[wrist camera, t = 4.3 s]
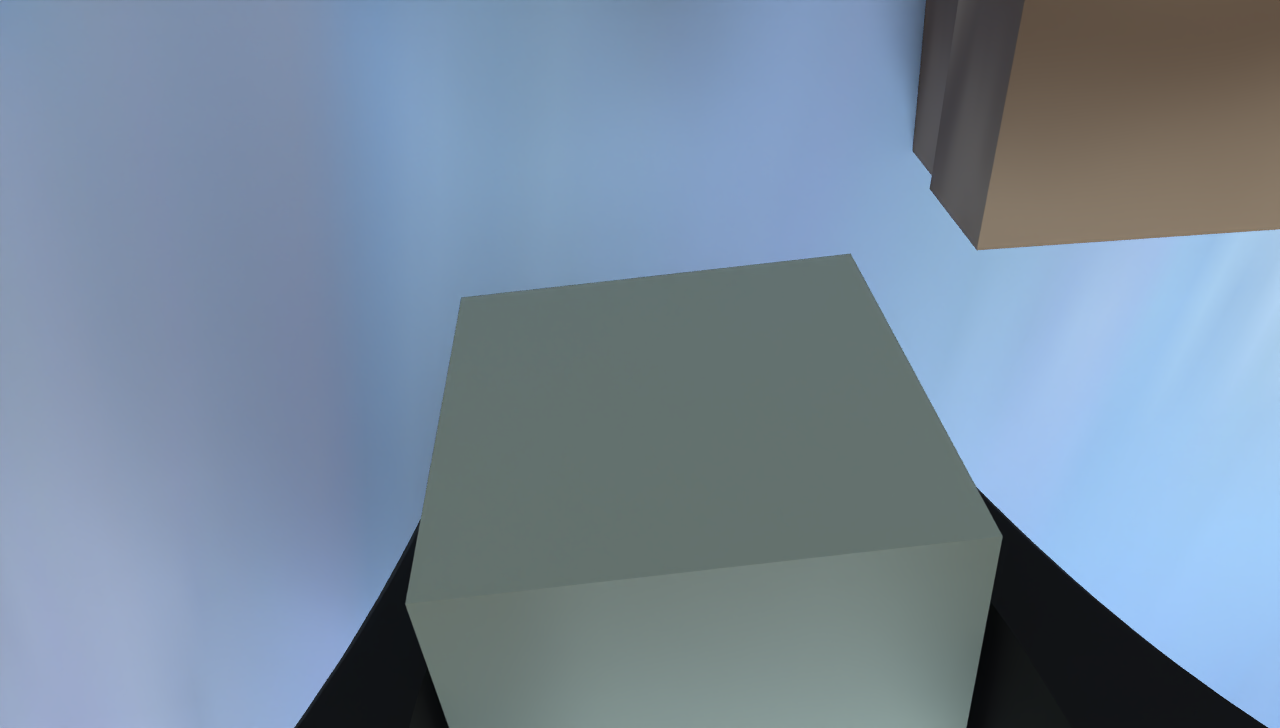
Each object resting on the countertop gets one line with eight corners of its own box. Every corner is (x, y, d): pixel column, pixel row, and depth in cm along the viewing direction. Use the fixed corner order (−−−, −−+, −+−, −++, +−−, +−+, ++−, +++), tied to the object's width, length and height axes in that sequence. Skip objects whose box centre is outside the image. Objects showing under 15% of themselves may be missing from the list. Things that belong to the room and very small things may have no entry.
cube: (838, 532, 15) (943, 846, 11) (525, 567, 15) (508, 895, 11) (850, 253, 12) (1001, 535, 8) (461, 297, 12) (405, 604, 8)
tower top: (1231, 169, 18) (1317, 226, 16) (929, 188, 18) (976, 249, 16) (1356, -187, 15) (1486, -171, 13) (983, -166, 14) (1052, -146, 12)
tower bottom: (1181, 115, 20) (1251, 160, 18) (907, 144, 20) (945, 192, 18) (1267, -209, 17) (1364, -198, 15) (934, -174, 17) (985, -158, 14)
